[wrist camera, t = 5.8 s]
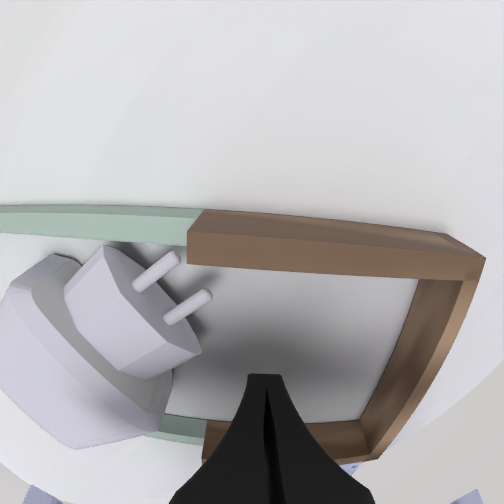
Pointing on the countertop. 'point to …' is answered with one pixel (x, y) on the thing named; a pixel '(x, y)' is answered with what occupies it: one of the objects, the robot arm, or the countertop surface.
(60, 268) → the charger
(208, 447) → the brown wooden u-shaped frame
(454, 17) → the countertop surface
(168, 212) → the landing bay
